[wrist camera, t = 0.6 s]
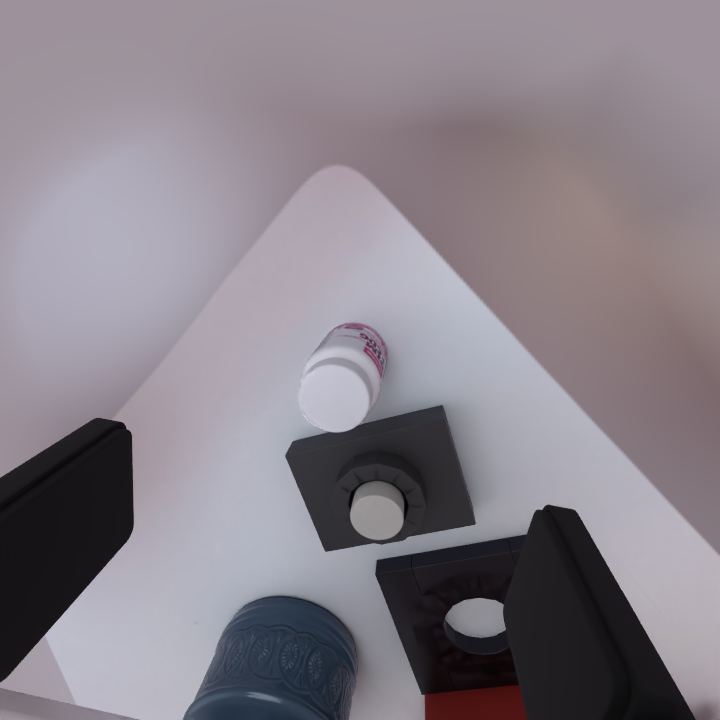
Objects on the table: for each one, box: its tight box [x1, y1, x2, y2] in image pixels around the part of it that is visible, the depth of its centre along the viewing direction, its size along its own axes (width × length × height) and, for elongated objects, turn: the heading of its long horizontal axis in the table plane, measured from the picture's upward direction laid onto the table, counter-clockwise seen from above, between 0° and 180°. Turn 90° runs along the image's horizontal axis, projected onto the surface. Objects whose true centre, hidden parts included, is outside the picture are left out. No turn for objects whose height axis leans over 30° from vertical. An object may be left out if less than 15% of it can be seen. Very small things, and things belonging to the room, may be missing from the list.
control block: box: [285, 405, 476, 552], centre depth 32 cm, size 12×9×4 cm
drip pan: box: [375, 535, 527, 695], centre depth 37 cm, size 14×14×2 cm
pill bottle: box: [298, 323, 387, 432], centre depth 27 cm, size 5×5×8 cm
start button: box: [350, 480, 404, 540], centre depth 30 cm, size 4×4×2 cm
